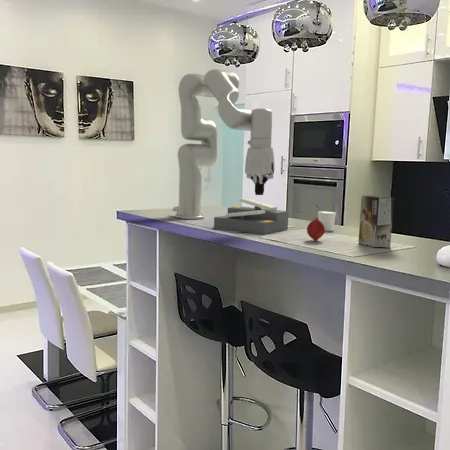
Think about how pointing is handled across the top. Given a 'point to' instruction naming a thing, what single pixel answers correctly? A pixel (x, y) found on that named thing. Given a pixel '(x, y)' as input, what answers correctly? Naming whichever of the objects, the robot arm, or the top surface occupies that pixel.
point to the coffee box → (376, 221)
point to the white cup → (327, 219)
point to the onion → (315, 229)
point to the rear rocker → (258, 204)
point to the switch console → (253, 220)
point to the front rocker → (245, 213)
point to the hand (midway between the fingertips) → (259, 194)
